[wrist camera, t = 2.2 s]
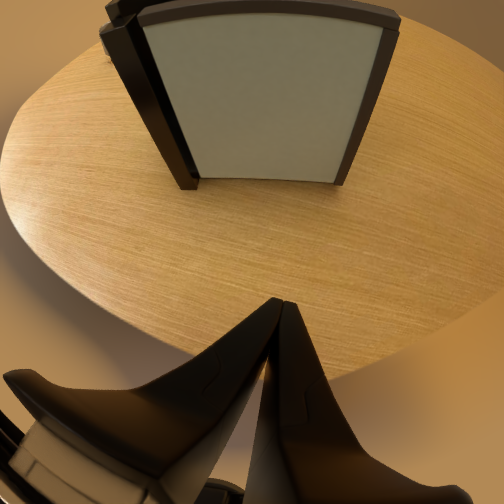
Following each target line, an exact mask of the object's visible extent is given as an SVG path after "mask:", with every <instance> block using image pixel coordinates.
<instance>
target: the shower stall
mask: <svg viewBox="0 0 504 504" xmlns="http://www.w3.org/2000/svg"><path fill="white" fill-rule="evenodd" d="M171 1H176V0H112V1H111V2H110V3H109V4H107V5H106V6H105V9H106V11H107V14H108V16H109V18H110V21H111V22H110V23H109V24H108V25H107V26H106V27H105V28H104V29H103V30H102V31H101V32H100V34H99V35H100V37H101V39H102V41H103V43H104V45H105V48H106V50H107V52H108V54H109V56H110V58H111V60H112V62H113V64H114V66H115V68H116V70H117V72H118V74H119V76H120V78H121V79H122V81H123V83H124V85H125V87H126V89H127V91H128V93H129V95H130V97H131V99H132V101H133V103H134V105H135V107H136V108H137V110H138V112H139V114H140V116H141V118H142V120H143V122H144V124H145V125H146V127H147V129H148V131H149V133H150V135H151V137H152V138H153V140H154V142H155V144H156V146H157V148H158V149H159V151H160V153H161V155H162V157H163V159H164V160H165V162H166V164H167V166H168V168H169V169H170V171H171V173H172V175H173V177H174V178H175V180H176V182H177V184H178V186H179V187H180V189H181V190H197V188H198V182H199V178H201V176H200V174H199V171H198V169H197V166H196V164H195V161H194V159H193V157H192V154H191V152H190V149H189V147H188V144H187V142H186V139H185V137H184V134H183V132H182V129H181V126H180V124H179V121H178V119H177V116H176V114H175V111H174V109H173V106H172V104H171V101H170V98H169V96H168V93H167V91H166V88H165V86H164V83H163V80H162V78H161V75H160V72H159V70H158V67H157V65H156V62H155V59H154V57H153V54H152V51H151V49H150V46H149V43H148V41H147V38H146V35H145V33H144V30H143V27H140V24H139V22H138V19H137V15H138V14H139V13H140V12H141V11H142V10H143V9H144V8H145V7H149V6H153V5H157V4H161V3H166V2H171ZM246 179H257V178H246ZM274 180H281V179H274ZM294 181H299V180H294ZM310 182H314V181H310ZM323 183H327V182H323Z"/></svg>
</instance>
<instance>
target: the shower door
mask: <svg viewBox="0 0 504 504" xmlns="http://www.w3.org/2000/svg"><path fill="white" fill-rule="evenodd" d="M137 19H138V22H139V24H140V27H143V30H144V33H145V35H146V38H147V41H148V43H149V46H150V49H151V51H152V54H153V57H154V59H155V62H156V65H157V67H158V70H159V72H160V75H161V78H162V80H163V83H164V86H165V88H166V91H167V93H168V96H169V98H170V101H171V104H172V106H173V109H174V111H175V114H176V116H177V119H178V121H179V124H180V126H181V129H182V132H183V134H184V137H185V139H186V142H187V144H188V147H189V149H190V152H191V154H192V157H193V159H194V161H195V164H196V166H197V169H198V171H199V174H200V176H201V178H257V179H281V180H299V181H314V182H327V183H334V185H339V186H343V183H344V181H345V179H346V176H347V174H348V172H349V169H350V167H351V164H352V162H353V160H354V157H355V155H356V152H357V150H358V147H359V145H360V142H361V140H362V137H363V135H364V132H365V130H366V127H367V125H368V122H369V120H370V117H371V114H372V112H373V109H374V106H375V104H376V101H377V98H378V96H379V93H380V90H381V87H382V84H383V82H384V79H385V76H386V73H387V70H388V67H389V64H390V61H391V58H392V55H393V52H394V49H395V46H396V43H397V40H398V37H399V34H400V32H399V31H398V29H399V26H400V23H401V18H400V17H399V16H398V14H397V13H396V12H395V11H394V10H391V9H388V8H384V7H380V6H376V5H371V4H367V3H362V2H358V1H352V0H176V1H171V2H166V3H161V4H157V5H153V6H149V7H145V8H144V9H143V10H142V11H141V12H140V13H139V14H138V15H137Z"/></svg>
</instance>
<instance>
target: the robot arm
mask: <svg viewBox="0 0 504 504" xmlns="http://www.w3.org/2000/svg"><path fill="white" fill-rule="evenodd" d="M283 302H284V303H283ZM269 351H270V352H269ZM267 358H268V359H267ZM266 361H267V364H266V370H265V377H264V383H263V390H262V396H261V402H260V409H259V416H258V421H257V427H256V433H255V439H254V445H253V451H252V456H251V462H250V467H249V473H248V478H247V484H246V488H245V493H241V492H232V491H226V490H221V489H214V488H208V487H203V486H204V484H205V483H206V481H207V479H208V477H209V476H210V474H211V472H212V470H213V468H214V466H215V464H216V463H217V461H218V459H219V457H220V455H221V453H222V451H223V449H224V447H225V446H226V444H227V442H228V440H229V438H230V436H231V434H232V432H233V430H234V428H235V426H236V424H237V422H238V420H239V418H240V416H241V414H242V412H243V410H244V408H245V406H246V404H247V402H248V400H249V398H250V396H251V394H252V391H253V389H254V387H255V385H256V383H257V381H258V379H259V377H260V374H261V372H262V370H263V368H264V366H265V363H266ZM3 378H4V380H5V382H6V383H7V385H8V386H9V388H10V389H11V390H12V391H13V393H14V394H15V396H16V397H17V398H18V399H19V400H20V402H21V403H22V404H23V405H24V407H25V408H26V409H27V410H28V411H29V412H30V413H31V415H32V416H33V417H34V418H35V419H36V421H35V422H34V424H33V425H32V426H31V428H30V429H29V430H28V432H27V433H26V435H25V434H24V433H23V432H22V431H21V430H20V429H19V428H17V427H16V426H15V425H14V424H13V423H12V422H11V421H10V420H9V419H8V418H7V417H6V416H5V415H4V414H3V412H2V411H1V410H0V504H473V501H472V499H471V497H470V496H469V494H468V493H467V492H465V491H464V490H463V489H461V488H460V487H458V486H457V485H447V486H440V487H431V486H426V485H422V484H419V483H417V482H415V481H413V480H411V479H409V478H407V477H405V476H403V475H402V474H400V473H398V472H396V471H395V470H393V469H391V468H389V467H387V466H386V465H384V464H382V463H380V462H379V461H377V460H376V459H374V458H373V457H371V456H370V455H369V454H368V453H367V452H366V451H365V450H364V449H363V448H362V446H361V445H360V443H359V442H358V440H357V438H356V436H355V435H354V433H353V431H352V429H351V427H350V426H349V424H348V422H347V420H346V418H345V417H344V415H343V413H342V411H341V409H340V407H339V405H338V404H337V402H336V399H335V398H334V396H333V393H332V391H331V388H330V386H329V384H328V381H327V378H326V376H325V373H324V371H323V368H322V366H321V363H320V361H319V358H318V356H317V353H316V351H315V348H314V346H313V343H312V341H311V338H310V336H309V333H308V331H307V328H306V326H305V323H304V321H303V319H302V316H301V314H300V311H299V309H298V306H297V304H296V303H293V302H290V301H283V300H282V299H278V298H275V297H272V298H270V299H269V300H268V301H266V302H265V303H264V304H263V305H262V306H260V307H259V308H258V309H257V310H255V311H254V312H253V313H252V314H250V315H249V316H248V317H247V318H245V319H244V320H243V321H242V322H240V323H239V324H238V325H237V326H235V327H234V328H233V329H231V330H230V331H229V332H228V333H226V334H225V335H224V336H222V337H221V338H220V339H219V340H217V341H216V342H215V343H213V344H212V345H211V346H209V347H208V348H207V349H205V350H204V351H203V352H201V353H200V354H198V355H197V356H196V357H194V358H193V359H191V360H190V361H188V362H186V363H184V364H183V365H181V366H179V367H178V368H176V369H174V370H172V371H170V372H168V373H166V374H164V375H162V376H160V377H159V378H157V379H155V380H153V381H151V382H149V383H147V384H145V385H143V386H140V387H137V388H134V389H129V390H88V389H72V388H65V387H61V386H58V385H55V384H53V383H51V382H49V381H47V380H46V379H45V378H43V377H42V376H41V375H40V374H38V373H37V372H35V371H33V370H31V369H18V370H12V371H9V372H7V373H5V374H3ZM242 496H243V497H244V498H241V497H242Z"/></svg>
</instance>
